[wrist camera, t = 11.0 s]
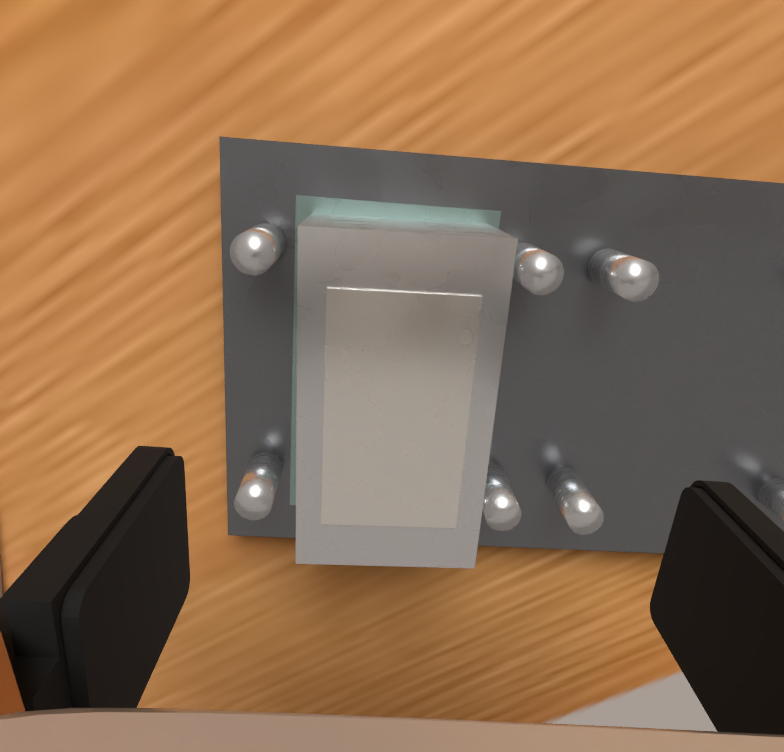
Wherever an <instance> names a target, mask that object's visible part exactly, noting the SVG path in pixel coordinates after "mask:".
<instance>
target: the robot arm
mask: <svg viewBox="0 0 784 752" xmlns="http://www.w3.org/2000/svg"><path fill="white" fill-rule="evenodd" d="M189 583H190V567H189V548H188V529H187V510H186V491H185V471H184V460H183V458H182V457H181V456H174V452H173V450H172V449H171V448H165V447H149V446H138V447H137V448H135V450H134V451H133V452H132V453H131V454H130V455H129V457H128V458H127V459H126V460H125V461H124V462H123V463H122V465H121V466H120V467H119V468H118V469H117V470H116V471H115V473H114V474H113V475H112V476H111V477H110V478H109V480H108V481H107V482H106V483H105V484H104V485H103V486H102V488H101V489H100V490H99V491H98V492H97V493H96V495H95V496H94V497H93V498H92V499H91V500H90V501H89V503H88V504H87V505H86V506H85V507H84V508H83V510H82V511H81V512H80V513H79V514H78V515H76V516H74V517H72V518H71V519H70V520H69V521H68V522H67V523H66V524H65V525H64V526H63V528H62V529H61V530H60V531H59V532H58V533H57V534H56V535H55V537H54V538H53V539H52V540H51V541H50V542H49V543H48V545H47V546H46V547H45V548H44V549H43V550H42V551H41V553H40V554H39V555H38V556H37V557H36V558H35V559H34V560H33V562H32V563H31V564H30V565H29V566H28V567H27V568H26V570H25V571H24V572H23V573H22V574H21V575H20V576H19V578H18V579H17V580H16V581H15V582H14V583H13V584H12V586H11V587H10V588H9V589H8V590H7V591H6V592H5V593H4V595H3V596H2V597H1V598H0V752H784V531H783V530H782V529H780V528H779V527H778V526H777V525H776V524H775V523H774V522H773V521H772V520H771V519H770V518H769V517H767V516H766V515H765V514H764V513H763V512H762V511H761V510H760V509H759V508H758V507H757V506H756V505H754V504H753V503H752V502H751V501H750V500H749V499H748V498H747V497H746V496H745V495H744V494H743V493H741V492H740V491H739V490H738V489H737V488H736V487H735V486H734V485H733V484H731V483H729V482H719V481H702V480H697V481H695V482H693V483H692V485H691V486H690V487H687V488H684V490H683V491H682V493H681V495H680V499H679V503H678V506H677V510H676V513H675V517H674V520H673V524H672V527H671V531H670V534H669V538H668V541H667V545H666V548H665V552H664V555H663V559H662V562H661V566H660V569H659V573H658V576H657V580H656V583H655V587H654V590H653V594H652V597H651V602H650V612H651V617H652V620H653V622H654V624H655V626H656V627H657V629H658V631H659V633H660V634H661V636H662V638H663V639H664V641H665V643H666V644H667V646H668V648H669V650H670V651H671V653H672V655H673V656H674V658H675V660H676V662H677V663H678V665H679V667H680V668H681V670H682V672H683V673H684V675H685V677H686V678H687V680H688V682H689V683H690V685H691V687H692V689H693V690H694V692H695V694H696V695H697V697H698V699H699V701H700V702H701V704H702V706H703V707H704V709H705V711H706V713H707V714H708V716H709V718H710V719H711V721H712V723H713V724H714V726H715V728H716V730H717V731H718V732H713V731H692V730H673V729H652V728H632V727H610V726H589V725H568V724H546V723H524V722H501V721H478V720H455V719H432V718H408V717H382V716H356V715H329V714H303V713H277V712H251V711H225V710H199V709H174V708H136V707H137V705H138V703H139V701H140V699H141V696H142V694H143V692H144V690H145V688H146V685H147V683H148V681H149V679H150V676H151V674H152V672H153V670H154V668H155V665H156V663H157V661H158V659H159V657H160V654H161V652H162V650H163V648H164V646H165V643H166V641H167V639H168V637H169V635H170V632H171V630H172V628H173V626H174V624H175V621H176V619H177V617H178V615H179V613H180V610H181V608H182V606H183V604H184V601H185V599H186V597H187V594H188V590H189Z"/></svg>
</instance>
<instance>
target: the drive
mask: <svg viewBox="0 0 784 752" xmlns="http://www.w3.org/2000/svg"><path fill="white" fill-rule="evenodd" d="M517 242H518V238H516V237H514V236H512V235H510V234H507V233H505V232H503V231H501V230H499V229H497V228H495V227H493V226H491V225H489V224H482V223H465V222H449V221H432V220H415V219H399V218H382V217H365V216H349V215H332V214H316V213H312V214H311V215H310V216H309V217H307V218H306V219H305V220H304V221H303V222H301V223H300V224H299V225H298V253H297V411H296V564H327V565H364V566H402V567H439V568H475V562H476V555H477V547H478V540H479V532H480V524H481V517H482V509H483V502H484V494H485V486H486V479H487V471H488V463H489V456H490V448H491V441H492V433H493V425H494V418H495V410H496V402H497V395H498V387H499V380H500V372H501V364H502V357H503V349H504V341H505V334H506V326H507V319H508V311H509V303H510V296H511V288H512V281H513V273H514V265H515V258H516V250H517Z"/></svg>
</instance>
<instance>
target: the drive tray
mask: <svg viewBox="0 0 784 752" xmlns="http://www.w3.org/2000/svg"><path fill="white" fill-rule="evenodd" d="M220 178H221V224H222V271H223V317H224V364H225V410H226V457H227V503H228V535H237V536H261V537H285V538H296V411H297V253H298V225H299V224H300V223H301V222H303V221H304V220H305V219H306V218H307V217H309V216H310V215H311V214H312V213H316V214H332V215H349V216H365V217H382V218H399V219H415V220H432V221H449V222H465V223H482V224H489V225H491V226H493V227H495V228H497V229H499V230H501V231H503V232H505V233H507V234H510V235H512V236H514V237H516V238H518V242H517V250H516V258H515V265H514V273H513V281H512V288H511V296H510V303H509V311H508V319H507V326H506V334H505V341H504V349H503V357H502V364H501V372H500V380H499V387H498V395H497V402H496V410H495V418H494V425H493V433H492V441H491V448H490V456H489V463H488V471H487V479H486V486H485V494H484V502H483V509H482V517H481V524H480V532H479V540H478V546H500V547H523V548H547V549H571V550H595V551H619V552H643V553H664V552H665V548H666V545H667V541H668V538H669V534H670V531H671V527H672V524H673V520H674V517H675V513H676V510H677V506H678V503H679V499H680V495H681V493H682V491H683V490H684V488H687V487H690V486H691V485H692V483H693V482H695V481H697V480H702V481H719V482H729V483H731V484H733V485H734V486H735V487H736V488H737V489H738V490H739V491H740V492H741V493H743V494H744V495H745V496H746V497H747V498H748V499H749V500H750V501H751V502H752V503H753V504H754V505H756V506H757V507H758V508H759V509H760V510H761V511H762V512H763V513H764V514H765V515H766V516H767V517H769V518H770V519H771V520H772V521H773V522H774V523H775V524H776V525H777V526H778V527H779V528H780V529H782V530H783V531H784V183H772V182H760V181H748V180H736V179H724V178H711V177H699V176H687V175H675V174H663V173H651V172H639V171H627V170H615V169H603V168H591V167H579V166H567V165H555V164H542V163H530V162H518V161H506V160H494V159H482V158H470V157H458V156H446V155H434V154H422V153H410V152H398V151H386V150H374V149H361V148H349V147H337V146H325V145H313V144H301V143H289V142H277V141H265V140H253V139H241V138H229V137H220Z"/></svg>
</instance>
